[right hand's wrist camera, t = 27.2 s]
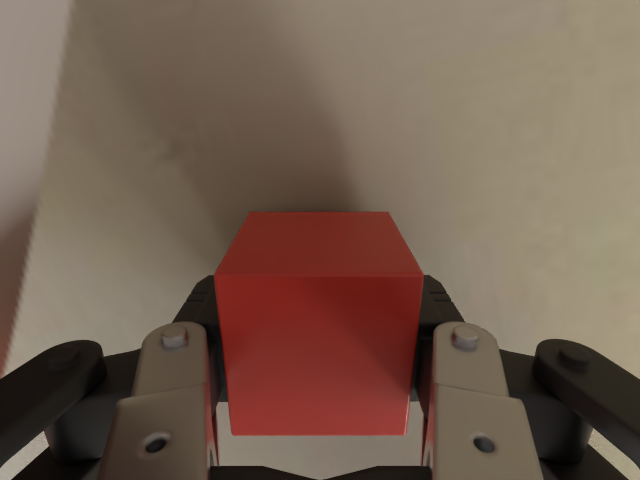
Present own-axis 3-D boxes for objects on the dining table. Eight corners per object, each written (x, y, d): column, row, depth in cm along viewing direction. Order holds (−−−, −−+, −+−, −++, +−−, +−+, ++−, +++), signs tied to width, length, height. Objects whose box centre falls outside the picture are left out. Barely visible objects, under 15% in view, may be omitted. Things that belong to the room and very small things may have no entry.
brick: (248, 211, 12) (212, 273, 8) (389, 211, 12) (425, 273, 8) (257, 332, 13) (230, 437, 9) (380, 332, 13) (407, 437, 9)
